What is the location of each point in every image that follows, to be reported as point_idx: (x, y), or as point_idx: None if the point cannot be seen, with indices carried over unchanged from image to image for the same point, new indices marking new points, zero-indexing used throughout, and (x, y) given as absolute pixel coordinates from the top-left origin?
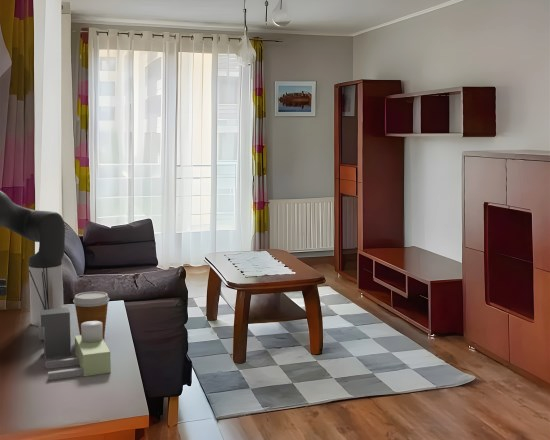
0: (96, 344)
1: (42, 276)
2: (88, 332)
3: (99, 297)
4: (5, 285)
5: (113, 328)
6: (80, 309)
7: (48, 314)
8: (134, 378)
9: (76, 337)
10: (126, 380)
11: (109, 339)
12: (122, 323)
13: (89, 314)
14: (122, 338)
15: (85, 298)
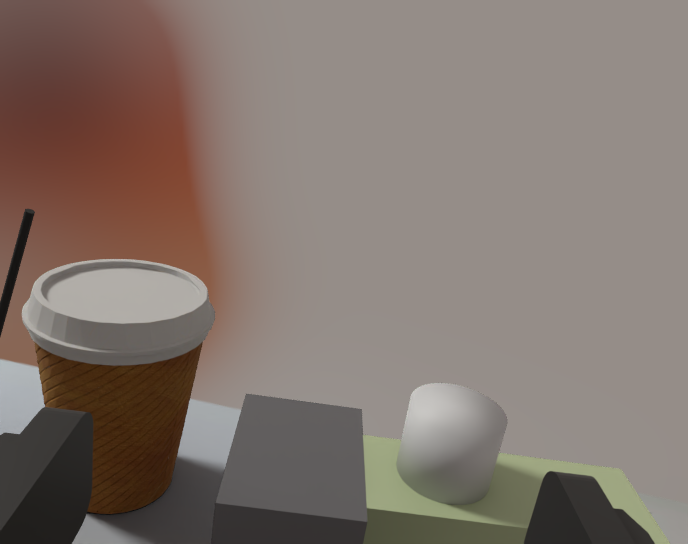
0: (518, 478)
1: (23, 248)
2: (498, 450)
3: (199, 286)
4: (90, 479)
5: (43, 397)
6: (154, 376)
7: (364, 486)
8: (653, 501)
9: (384, 507)
10: (675, 522)
11: (183, 442)
12: (5, 365)
13: (187, 380)
14: (201, 414)
15: (149, 312)
